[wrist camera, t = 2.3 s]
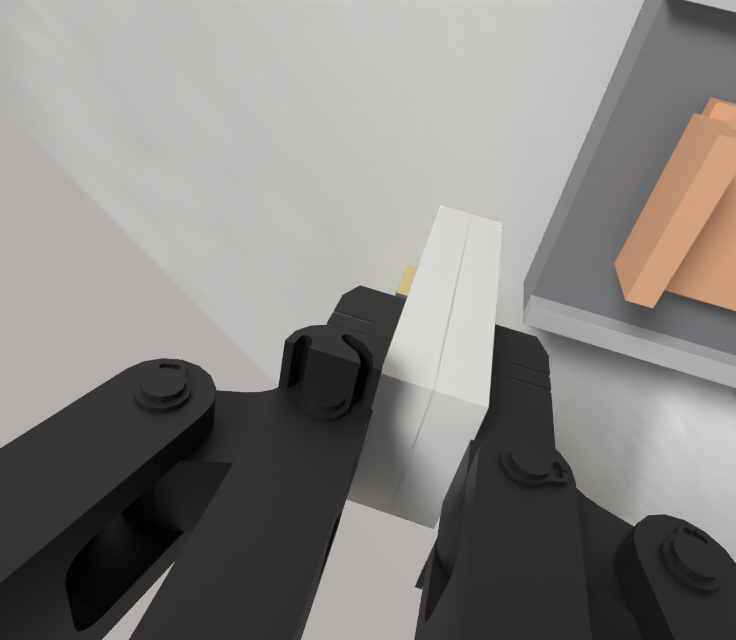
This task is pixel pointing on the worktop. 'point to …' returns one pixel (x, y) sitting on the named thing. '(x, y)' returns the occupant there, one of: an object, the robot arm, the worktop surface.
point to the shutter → (689, 219)
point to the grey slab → (638, 196)
